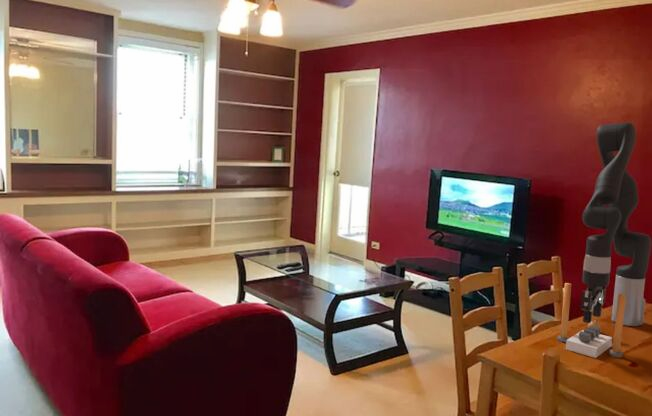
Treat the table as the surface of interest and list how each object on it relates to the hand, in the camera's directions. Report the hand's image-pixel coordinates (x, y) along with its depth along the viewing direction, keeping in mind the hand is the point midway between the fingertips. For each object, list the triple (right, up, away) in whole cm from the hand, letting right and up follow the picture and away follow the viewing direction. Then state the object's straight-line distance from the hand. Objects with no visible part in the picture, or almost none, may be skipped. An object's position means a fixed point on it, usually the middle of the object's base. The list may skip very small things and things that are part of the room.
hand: (591, 319), depth 173 cm
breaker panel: (0, -9, +1) cm, 9 cm away
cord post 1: (-6, -8, +7) cm, 12 cm away
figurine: (+8, -8, +15) cm, 19 cm away
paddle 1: (-3, -6, -2) cm, 7 cm away
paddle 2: (+3, -6, +4) cm, 7 cm away
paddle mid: (0, -6, +1) cm, 6 cm away
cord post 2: (+5, -10, -4) cm, 12 cm away
